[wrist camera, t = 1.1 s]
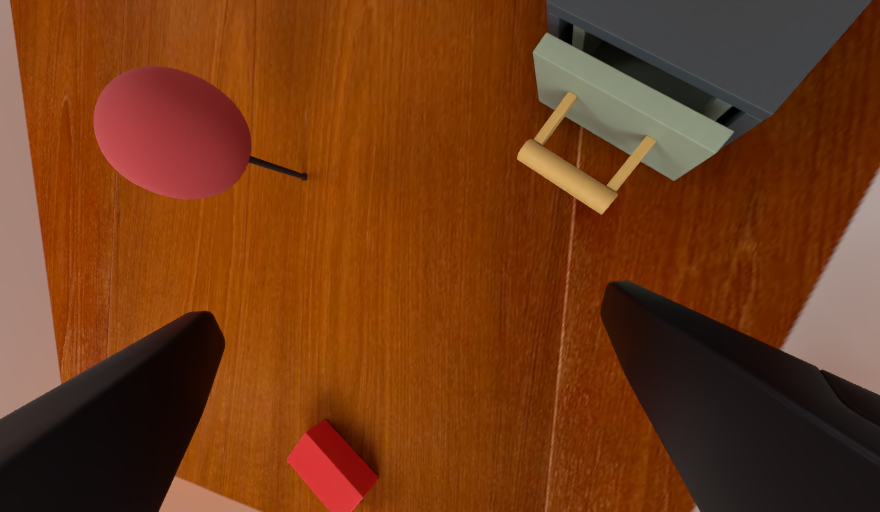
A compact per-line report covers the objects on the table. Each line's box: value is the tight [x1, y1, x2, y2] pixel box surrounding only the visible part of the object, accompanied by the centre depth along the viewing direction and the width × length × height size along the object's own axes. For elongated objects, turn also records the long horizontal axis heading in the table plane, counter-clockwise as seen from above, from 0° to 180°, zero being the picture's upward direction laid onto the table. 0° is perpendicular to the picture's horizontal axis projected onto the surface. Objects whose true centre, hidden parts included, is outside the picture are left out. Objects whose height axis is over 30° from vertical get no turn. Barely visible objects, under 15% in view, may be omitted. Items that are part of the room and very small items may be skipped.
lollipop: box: [94, 66, 307, 199], centre depth 25 cm, size 8×8×15 cm
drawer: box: [517, 25, 734, 214], centre depth 20 cm, size 17×10×6 cm, turn 143°
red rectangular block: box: [287, 419, 379, 512], centre depth 30 cm, size 7×3×3 cm, turn 53°
